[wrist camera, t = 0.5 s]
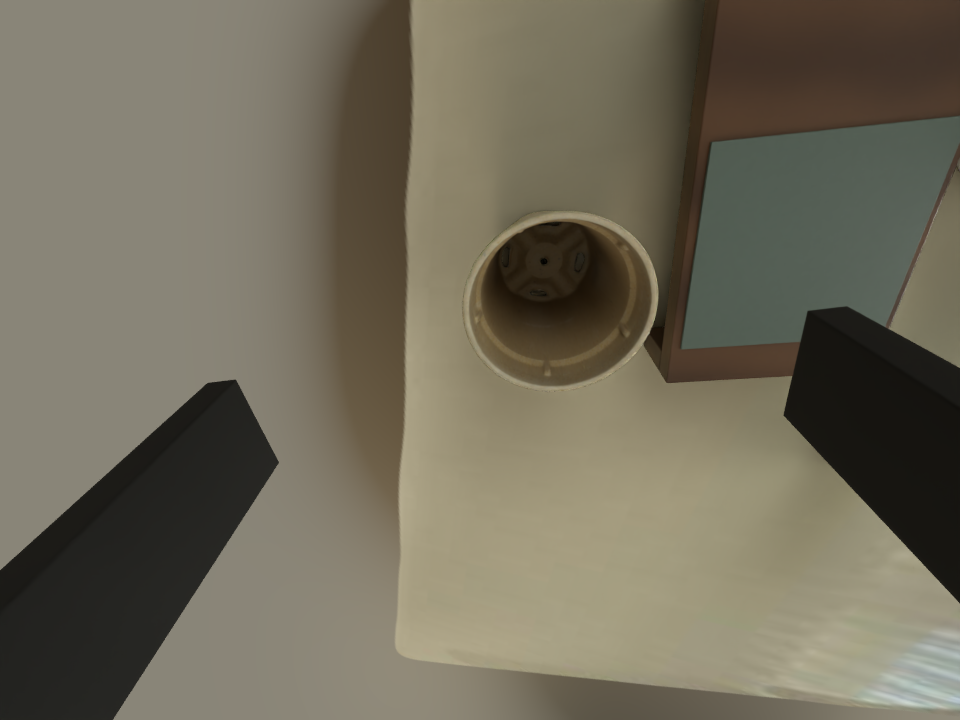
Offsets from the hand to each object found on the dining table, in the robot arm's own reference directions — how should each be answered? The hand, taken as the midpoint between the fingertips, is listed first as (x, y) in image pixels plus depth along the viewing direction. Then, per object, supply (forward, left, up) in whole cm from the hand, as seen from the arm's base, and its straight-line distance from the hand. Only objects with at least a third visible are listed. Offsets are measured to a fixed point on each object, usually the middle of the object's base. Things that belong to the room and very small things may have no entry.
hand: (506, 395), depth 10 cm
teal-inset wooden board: (-1, +15, -19) cm, 25 cm away
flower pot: (+3, +2, -20) cm, 20 cm away
